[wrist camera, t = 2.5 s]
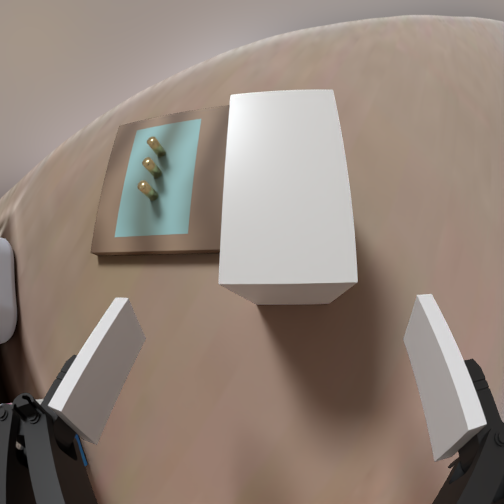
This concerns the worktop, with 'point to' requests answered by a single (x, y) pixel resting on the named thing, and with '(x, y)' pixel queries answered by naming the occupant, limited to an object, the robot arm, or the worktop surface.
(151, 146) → the header pins
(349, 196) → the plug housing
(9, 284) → the plastic bottle
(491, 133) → the worktop surface
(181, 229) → the dock board
